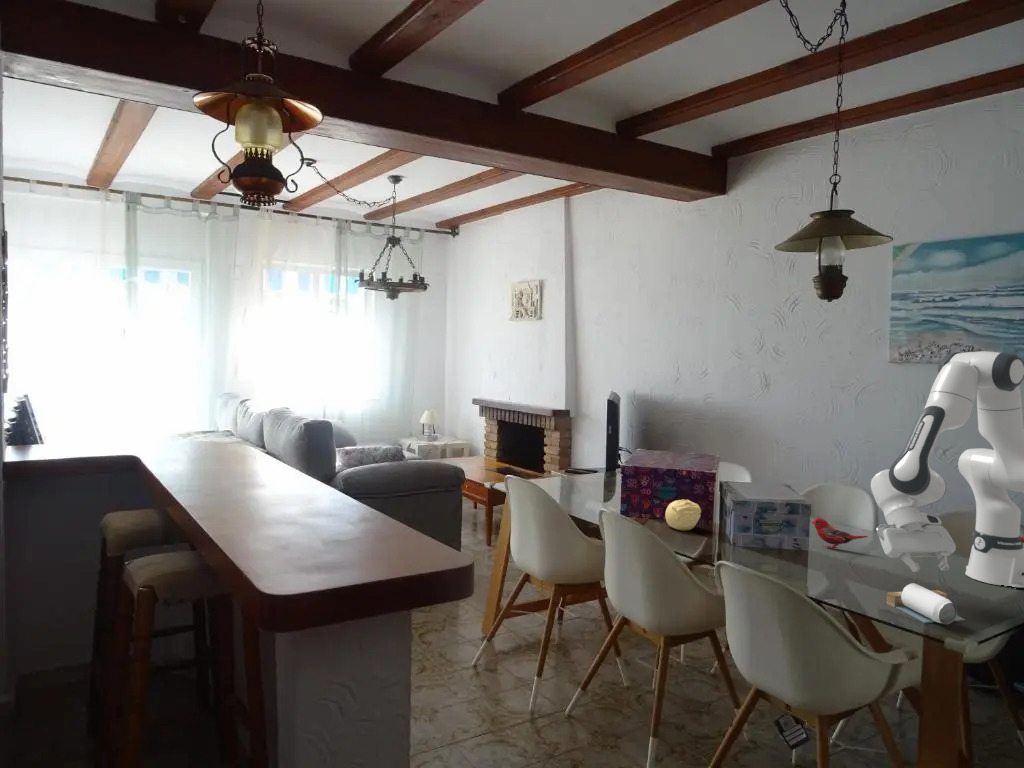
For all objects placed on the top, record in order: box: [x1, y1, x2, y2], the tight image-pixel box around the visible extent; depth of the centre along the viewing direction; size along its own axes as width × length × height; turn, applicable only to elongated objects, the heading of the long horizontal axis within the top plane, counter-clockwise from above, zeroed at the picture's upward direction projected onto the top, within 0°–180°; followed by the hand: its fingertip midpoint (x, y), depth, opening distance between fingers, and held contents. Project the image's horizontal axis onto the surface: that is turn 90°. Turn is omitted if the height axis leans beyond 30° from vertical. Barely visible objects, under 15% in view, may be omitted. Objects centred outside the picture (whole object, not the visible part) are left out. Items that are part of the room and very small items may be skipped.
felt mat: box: [895, 606, 966, 624], centre depth 187 cm, size 12×10×1 cm
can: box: [901, 582, 958, 625], centre depth 185 cm, size 6×6×12 cm
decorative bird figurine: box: [811, 517, 868, 549], centre depth 243 cm, size 3×18×10 cm, turn 59°
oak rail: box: [886, 589, 947, 608], centre depth 194 cm, size 16×3×3 cm, turn 102°
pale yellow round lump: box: [664, 499, 702, 531], centre depth 263 cm, size 12×12×11 cm
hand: (931, 570), depth 191 cm, fingers open, 8 cm apart
